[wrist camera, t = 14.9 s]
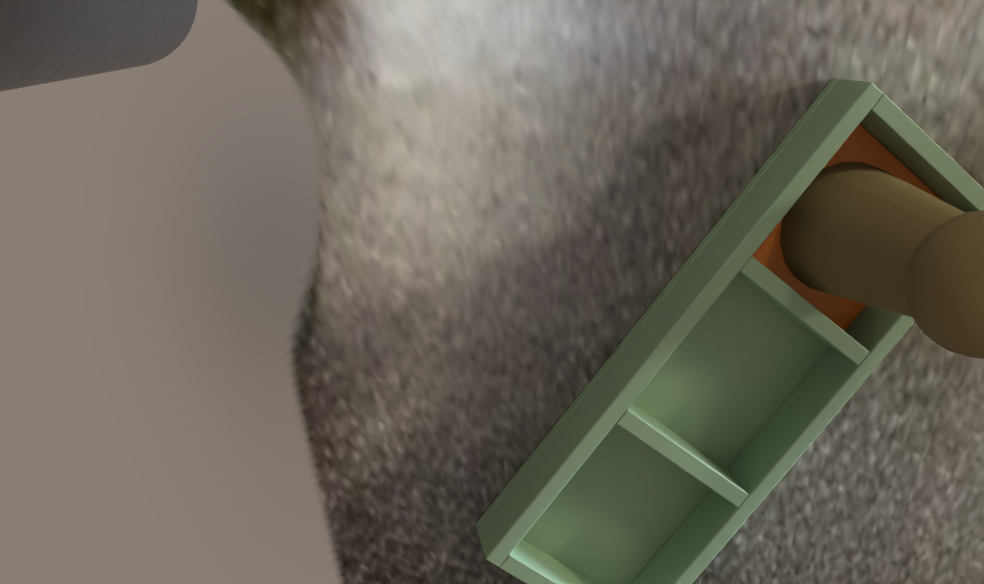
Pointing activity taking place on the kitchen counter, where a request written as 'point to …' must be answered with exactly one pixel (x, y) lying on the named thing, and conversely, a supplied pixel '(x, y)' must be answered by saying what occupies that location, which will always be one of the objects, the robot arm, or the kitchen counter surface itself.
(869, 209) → the cork
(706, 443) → the compartment tray
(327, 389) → the kitchen counter surface
